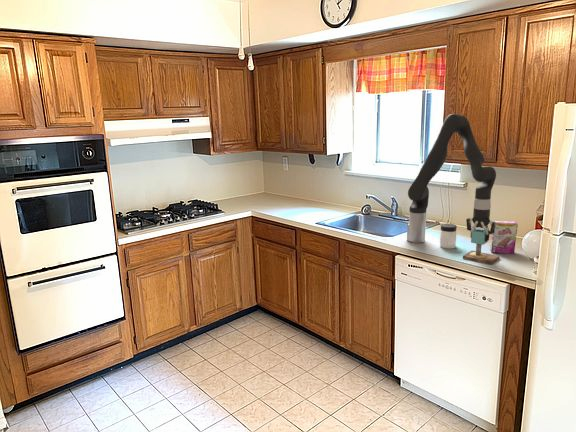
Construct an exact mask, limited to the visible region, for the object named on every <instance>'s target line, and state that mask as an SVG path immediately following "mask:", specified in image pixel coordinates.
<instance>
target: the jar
mask: <svg viewBox="0 0 576 432" xmlns="http://www.w3.org/2000/svg"><path fill="white" fill-rule="evenodd" d="M457 228H458V227H457V225H456V224H453V223H441V224H440V232H439V248H443V249H449V250H450V249H455V248H456V244H457V243H456V242H457Z"/></svg>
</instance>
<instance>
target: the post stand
mask: <svg viewBox="0 0 576 432" xmlns="http://www.w3.org/2000/svg"><path fill="white" fill-rule="evenodd" d="M475 245H476V246H475V250H470V251H469V252H466V253H465V254H463V255H462V259H463V260H468V261H472V262H477V263H481V264H487V265H493V264H495V263H496V262H497V261H498V260H500V258H501V257H500V255H496V254H490V253H486V252H482V246H483V245H482V244H476V243H475Z"/></svg>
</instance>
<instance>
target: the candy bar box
mask: <svg viewBox="0 0 576 432" xmlns="http://www.w3.org/2000/svg"><path fill="white" fill-rule="evenodd" d="M492 222H496V226H495V230H494V233H492V234H490V235H491V236H490V243H489V244H490V245H489V247H490V248H489V251H490V253H493V254H508V255H509V254H510V255H514V254H515V250H516V242H517V241H516V240H517V234H518V233H517V231H518V226H519V225H518V223H517V222H516V221H510V220H509V221H505V220H492Z"/></svg>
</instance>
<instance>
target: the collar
mask: <svg viewBox="0 0 576 432" xmlns="http://www.w3.org/2000/svg"><path fill="white" fill-rule="evenodd" d="M485 235H486V233H485V231H484V229H483V228H476V229H475V230H473V231H472V235H471V234H470V236H471V237H470V239H471V240H470V243H472V244H475V245H476V244H482V246H483V245H485V244H487V243H488V241H489V240H488V241H487V242H485Z"/></svg>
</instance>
